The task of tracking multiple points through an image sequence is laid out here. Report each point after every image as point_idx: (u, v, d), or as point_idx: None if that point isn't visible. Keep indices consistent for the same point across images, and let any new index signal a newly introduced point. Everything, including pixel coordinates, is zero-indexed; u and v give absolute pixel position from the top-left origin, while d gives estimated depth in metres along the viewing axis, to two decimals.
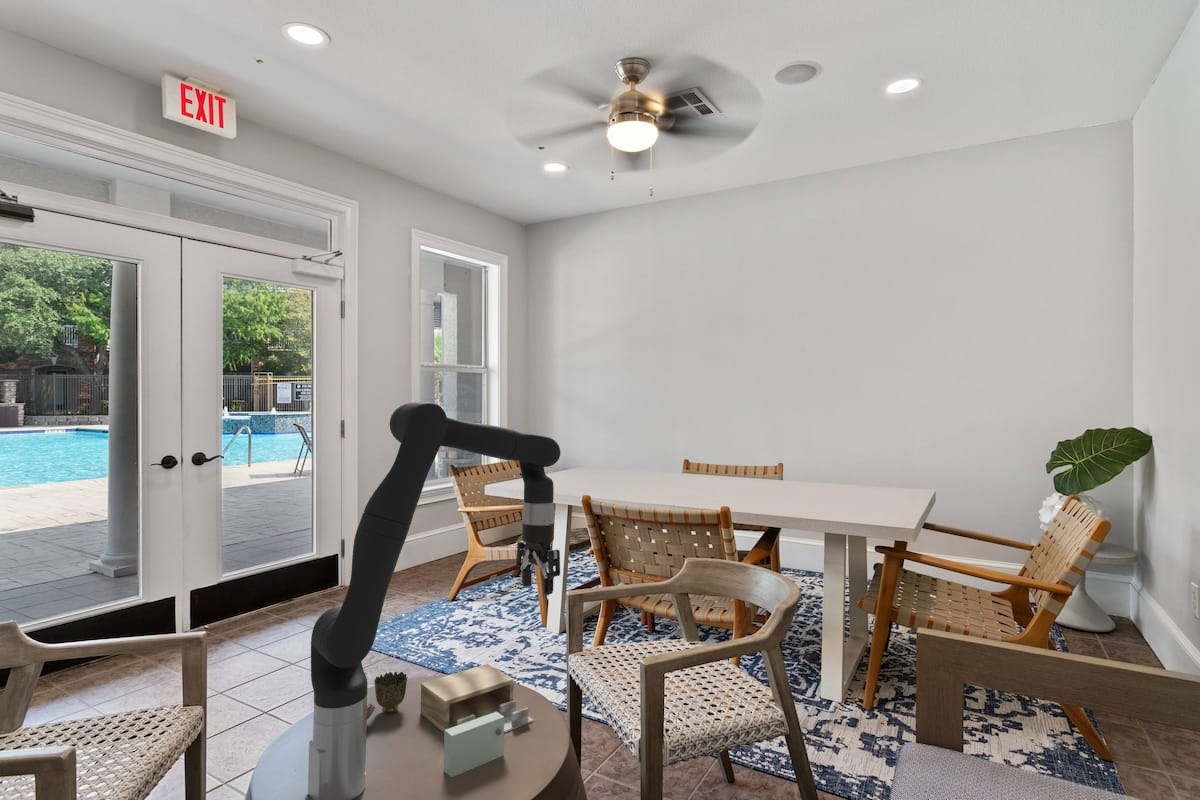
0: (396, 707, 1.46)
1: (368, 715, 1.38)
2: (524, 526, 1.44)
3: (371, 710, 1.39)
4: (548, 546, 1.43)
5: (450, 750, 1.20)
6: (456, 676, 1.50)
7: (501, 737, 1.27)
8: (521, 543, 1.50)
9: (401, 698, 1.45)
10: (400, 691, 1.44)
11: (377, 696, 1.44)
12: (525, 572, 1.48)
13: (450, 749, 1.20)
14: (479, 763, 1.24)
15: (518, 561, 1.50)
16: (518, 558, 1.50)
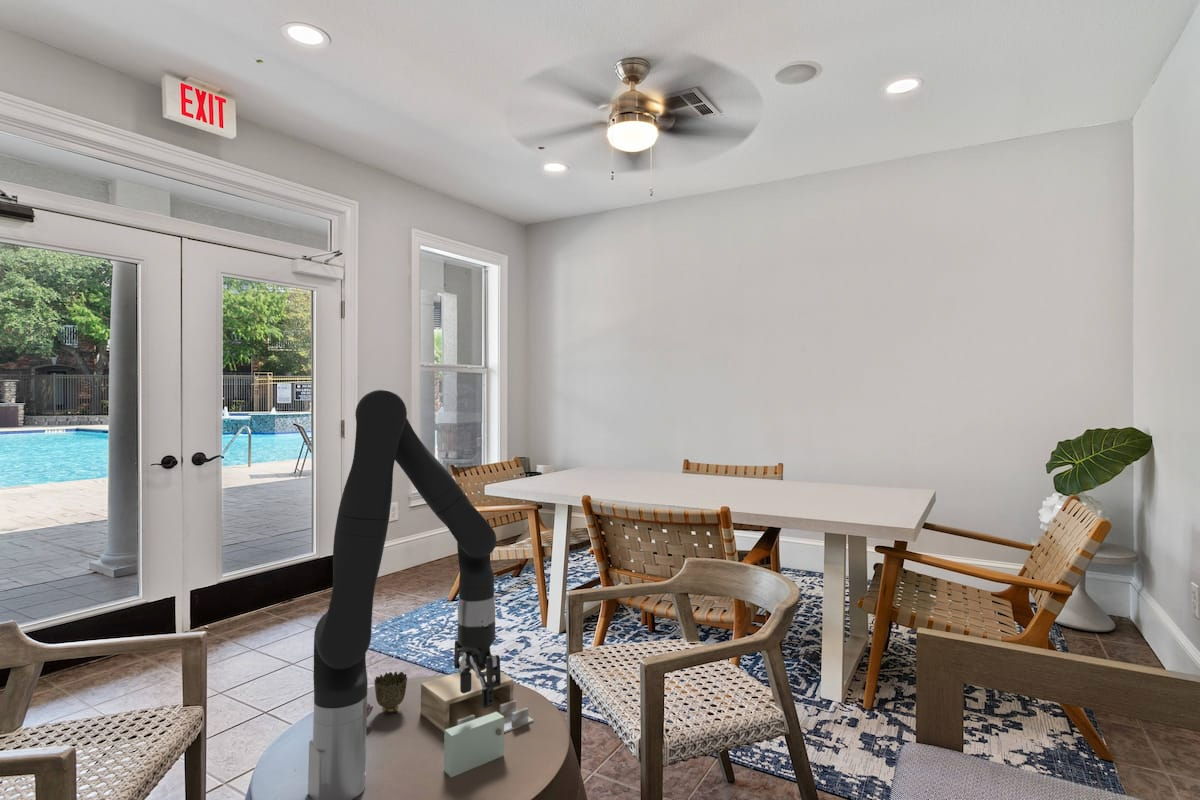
0: (396, 707, 1.46)
1: None
2: (459, 627, 1.23)
3: (369, 710, 1.39)
4: (487, 650, 1.23)
5: (450, 750, 1.20)
6: (456, 676, 1.50)
7: (501, 737, 1.27)
8: None
9: (401, 698, 1.45)
10: (400, 691, 1.44)
11: (377, 696, 1.44)
12: (463, 676, 1.28)
13: (450, 749, 1.20)
14: (479, 763, 1.24)
15: (456, 662, 1.29)
16: (456, 659, 1.29)
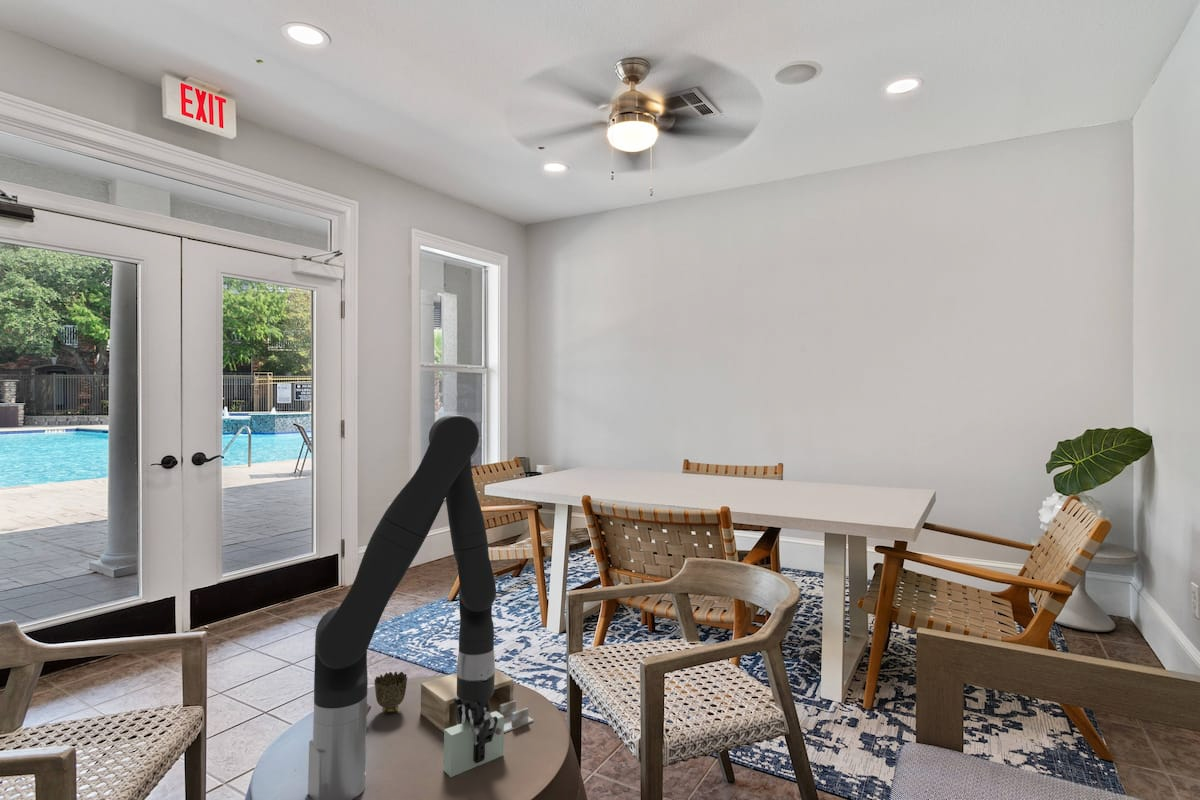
0: (396, 707, 1.46)
1: None
2: (458, 680, 1.23)
3: (367, 710, 1.39)
4: (486, 704, 1.23)
5: (449, 750, 1.20)
6: (456, 676, 1.50)
7: (501, 736, 1.27)
8: (458, 699, 1.29)
9: (401, 698, 1.45)
10: (400, 691, 1.44)
11: (377, 696, 1.44)
12: None
13: (450, 748, 1.20)
14: (479, 762, 1.24)
15: (460, 723, 1.27)
16: (458, 719, 1.28)
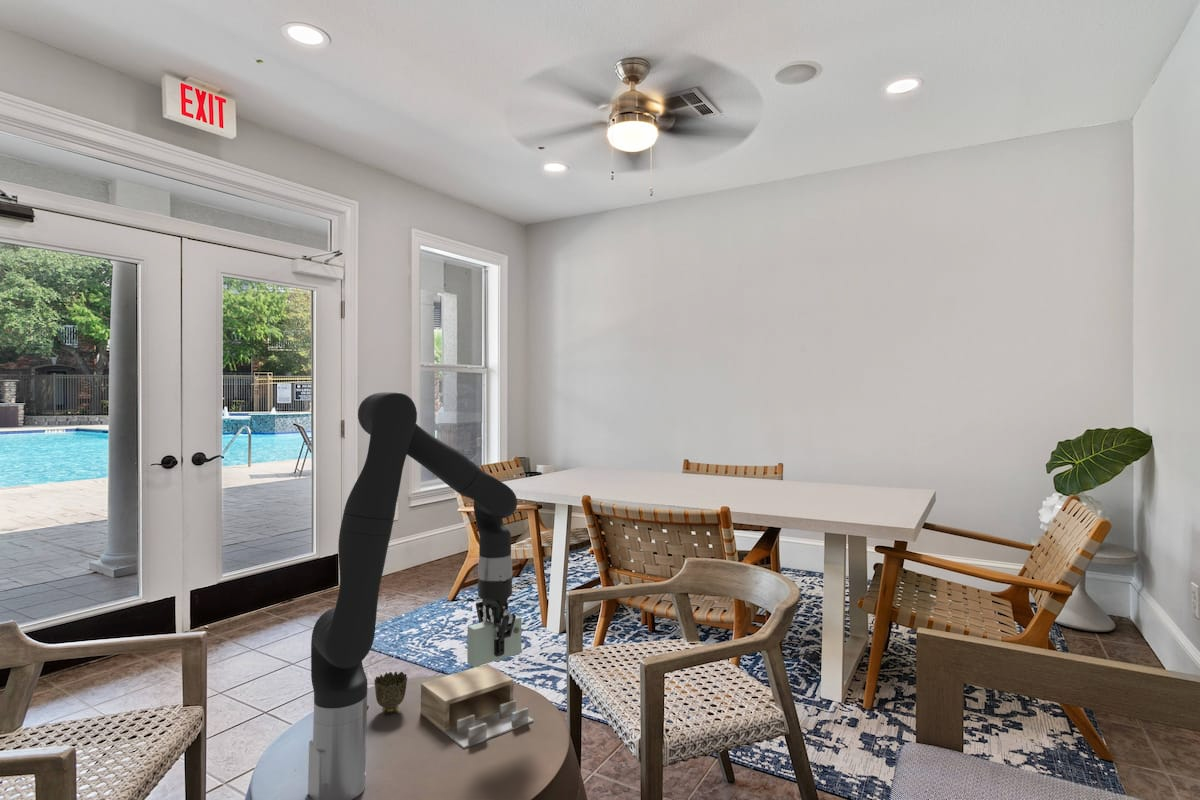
0: (396, 707, 1.46)
1: None
2: (479, 581, 1.35)
3: None
4: (505, 603, 1.35)
5: (472, 643, 1.33)
6: (456, 676, 1.50)
7: (519, 635, 1.40)
8: (479, 603, 1.41)
9: (401, 698, 1.45)
10: (400, 691, 1.44)
11: (377, 696, 1.44)
12: None
13: (473, 641, 1.33)
14: (499, 657, 1.36)
15: None
16: (480, 620, 1.40)
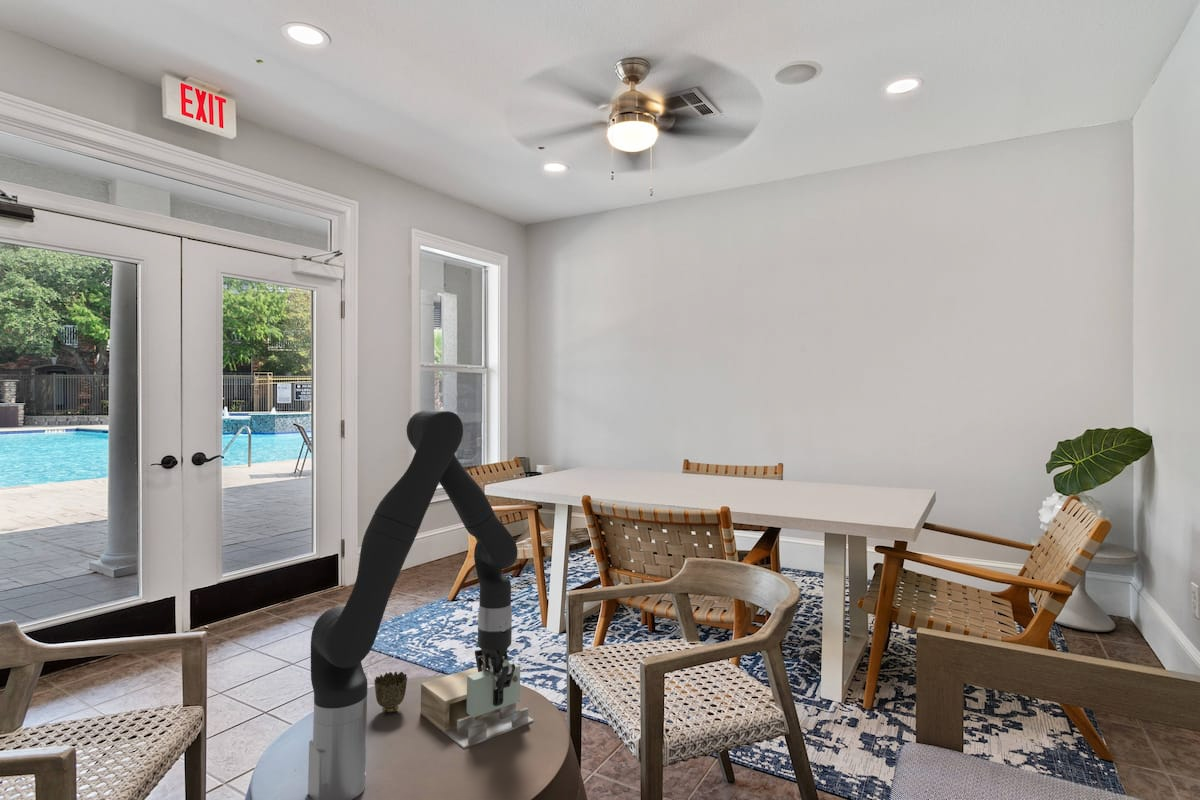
0: (396, 707, 1.46)
1: None
2: (479, 631, 1.37)
3: None
4: (504, 653, 1.36)
5: (472, 693, 1.34)
6: (456, 676, 1.50)
7: (517, 684, 1.41)
8: (478, 651, 1.42)
9: (401, 698, 1.45)
10: (400, 691, 1.44)
11: (377, 696, 1.44)
12: None
13: (472, 692, 1.34)
14: (498, 706, 1.37)
15: None
16: (479, 668, 1.41)
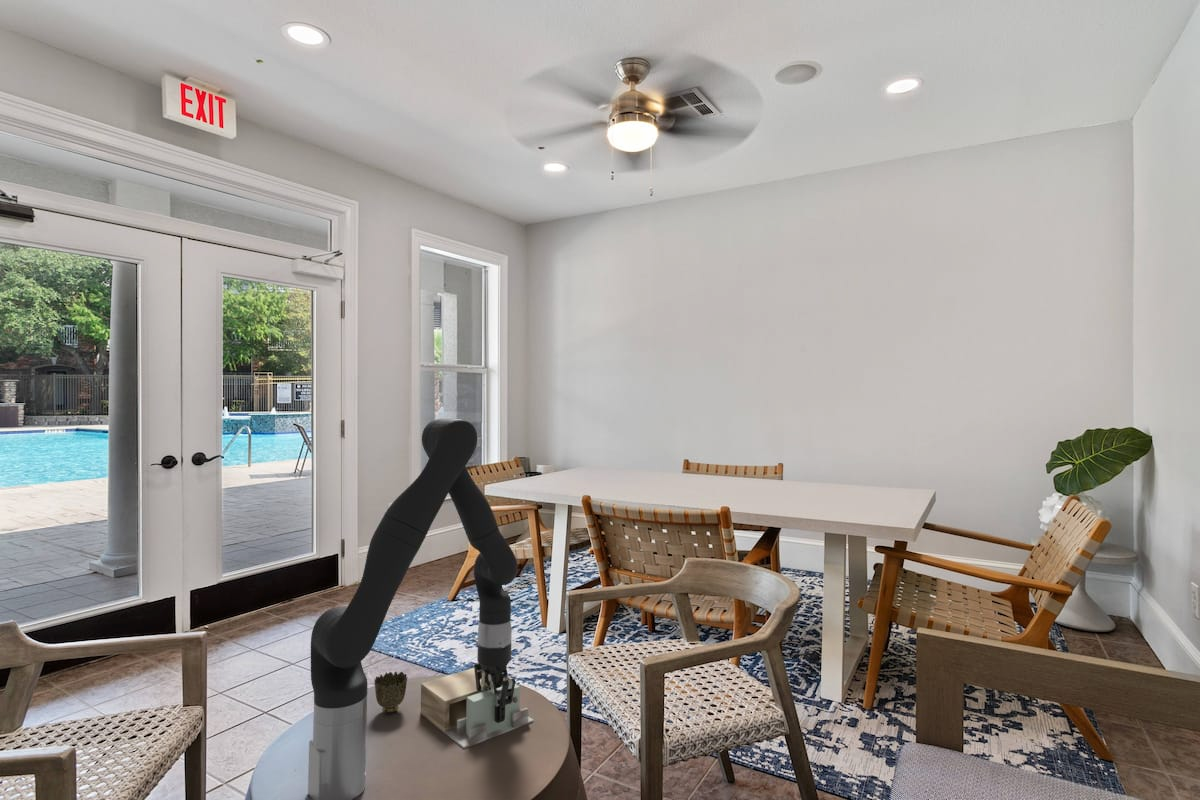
0: (396, 707, 1.46)
1: None
2: (479, 647, 1.37)
3: None
4: (504, 669, 1.36)
5: (471, 715, 1.34)
6: (456, 676, 1.50)
7: (517, 705, 1.41)
8: (477, 664, 1.42)
9: (401, 698, 1.45)
10: (400, 691, 1.44)
11: (377, 696, 1.44)
12: None
13: (472, 714, 1.34)
14: (497, 727, 1.37)
15: (478, 685, 1.41)
16: (477, 681, 1.41)
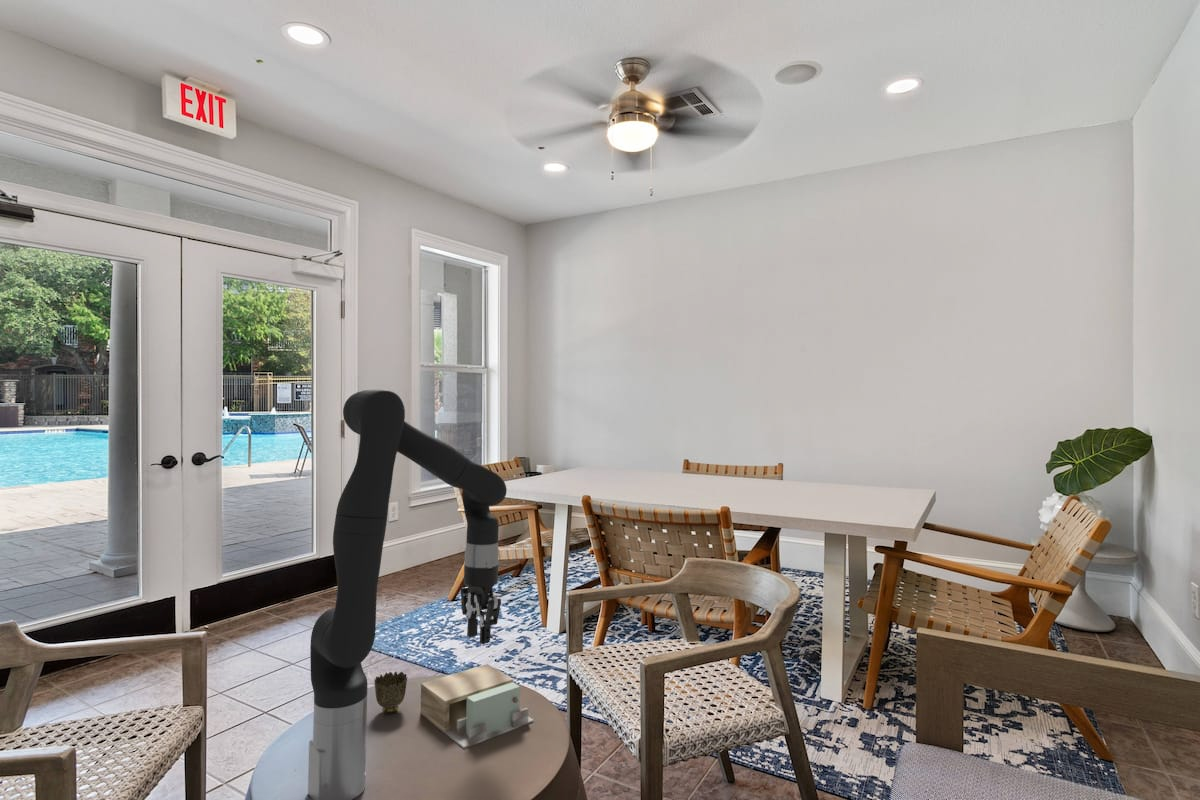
0: (396, 707, 1.46)
1: None
2: (465, 568, 1.36)
3: None
4: (490, 590, 1.36)
5: (471, 715, 1.34)
6: (456, 676, 1.50)
7: (517, 705, 1.41)
8: (464, 588, 1.42)
9: (401, 698, 1.45)
10: (400, 691, 1.44)
11: (377, 696, 1.44)
12: (470, 621, 1.39)
13: (472, 714, 1.34)
14: (497, 727, 1.37)
15: (464, 609, 1.41)
16: (463, 605, 1.41)
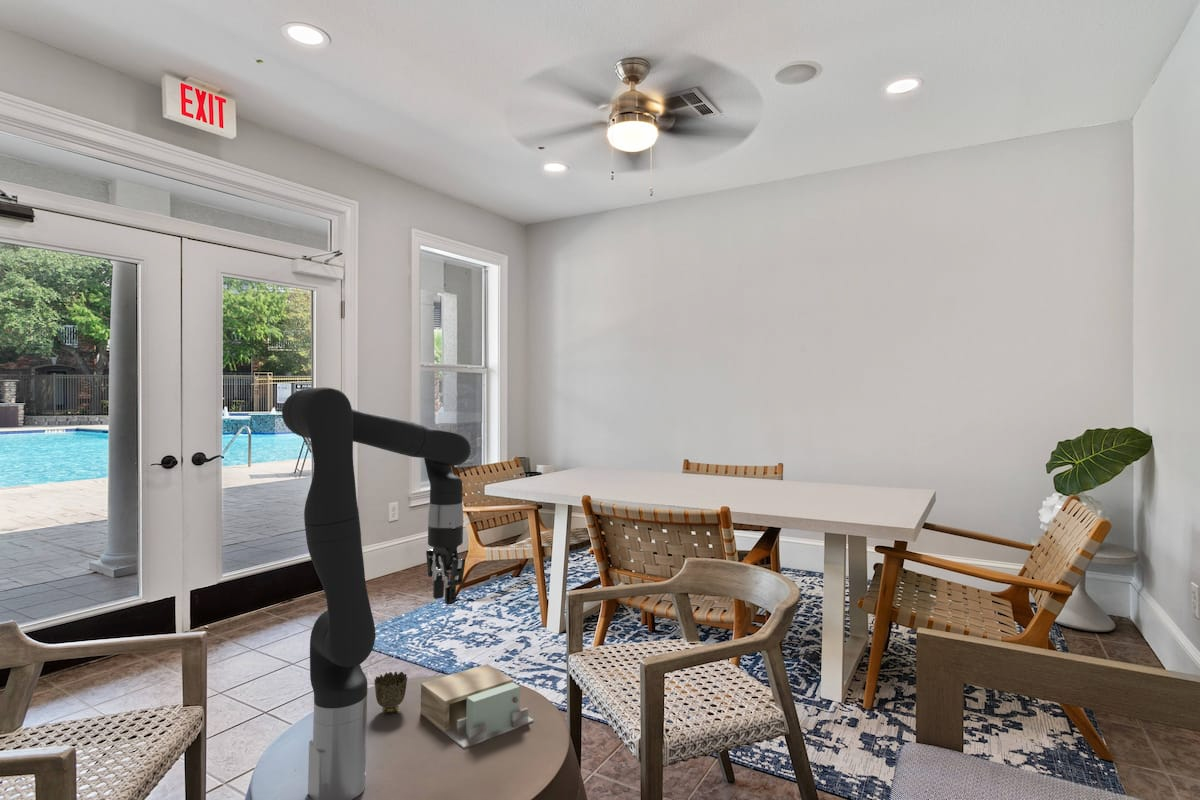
0: (396, 707, 1.46)
1: None
2: (429, 529, 1.34)
3: None
4: (454, 550, 1.34)
5: (471, 715, 1.34)
6: (456, 676, 1.50)
7: (517, 705, 1.41)
8: (430, 550, 1.40)
9: (401, 698, 1.45)
10: (400, 691, 1.44)
11: (377, 696, 1.44)
12: (436, 583, 1.38)
13: (472, 714, 1.34)
14: (497, 727, 1.37)
15: (429, 571, 1.39)
16: (429, 567, 1.39)
